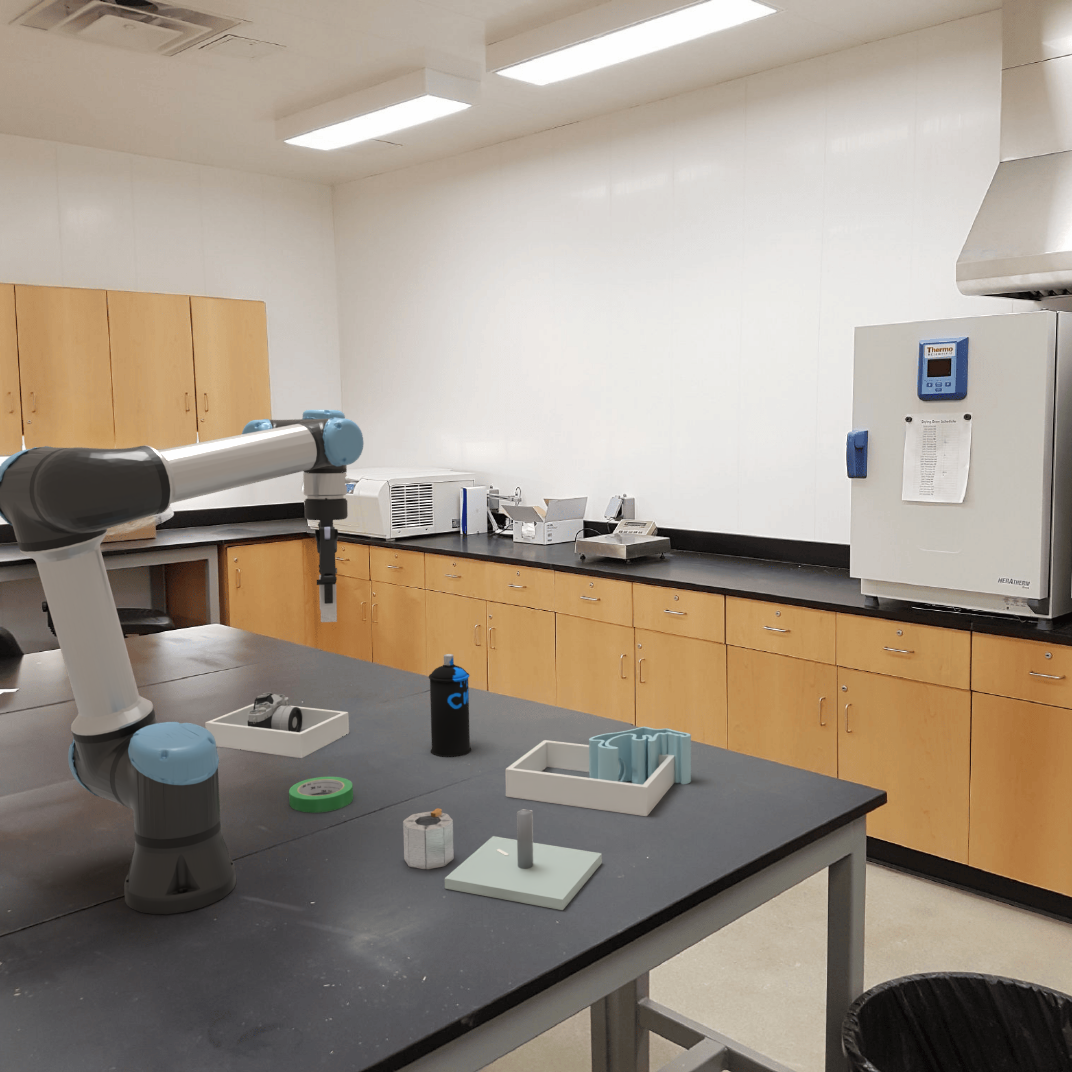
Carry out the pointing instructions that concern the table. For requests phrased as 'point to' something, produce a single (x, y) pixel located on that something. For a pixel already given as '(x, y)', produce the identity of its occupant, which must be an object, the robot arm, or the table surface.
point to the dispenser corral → (583, 781)
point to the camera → (275, 713)
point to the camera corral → (279, 732)
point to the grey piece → (428, 839)
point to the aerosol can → (449, 710)
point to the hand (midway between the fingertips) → (328, 615)
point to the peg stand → (525, 869)
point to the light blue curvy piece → (638, 754)
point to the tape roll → (311, 803)
